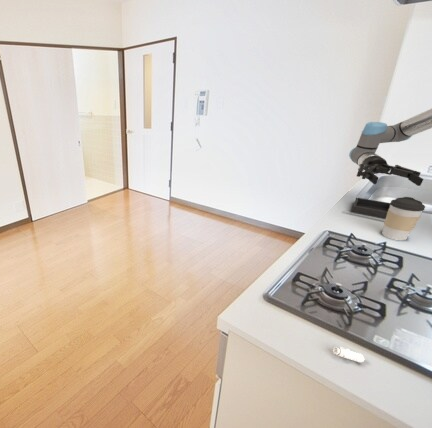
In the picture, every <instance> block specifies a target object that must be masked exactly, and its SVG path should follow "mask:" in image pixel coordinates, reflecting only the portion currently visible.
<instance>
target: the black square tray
mask: <svg viewBox="0 0 432 428" xmlns="http://www.w3.org/2000/svg"><path fill="white" fill-rule="evenodd" d="M353 202H354V203H353V205H352V208H351V210H350V213H353V214H358V215H363V216H367V217H369V216H370V217H375V218H380V219H383V220H385V219H386V216H387V213H388V209H389V208H390V203H391V202H388V201H387V202H386V201H380V200H374V199H368V198H362V197H357V196H356V197H355V199H354V201H353Z"/></svg>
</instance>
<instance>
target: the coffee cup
mask: <svg viewBox="0 0 432 428" xmlns="http://www.w3.org/2000/svg"><path fill="white" fill-rule="evenodd" d="M389 203H390V208H389V209H388V213H387V216H386V219H384V222H383V224H384V225H383V228H382V232H381V235H382V236H384V237H385V238H388V239H391V240H396V241H406V240H407V239H408V237H409V235H410V234H411V232H412V231H413V230H414V228H415V226H416V225H417V223H418V221H419V219H420V218H421V215H422V213H423V211H425V208H426V206H425V204H423V201H420V200H419V199H415V198H414V197H411V196H403V197H396V198H395V199H392V200H391V201H390V202H389Z"/></svg>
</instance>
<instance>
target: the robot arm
mask: <svg viewBox="0 0 432 428" xmlns="http://www.w3.org/2000/svg"><path fill="white" fill-rule="evenodd" d="M430 129H432V108H429V109H427V110H425V111H423V112H421V113H418V114H416V115H414V116H412V117H409V118H407V119H404V120H402V121H400V122H398V123H396V124H393V125H388V124H387V123H386V122H380V121H369V122H367V123H365V125H364V127H363V128H362V131H361V134H360V136H359V139H358V141H357V144H356V146H355V147H353V148H352V149H351V150H350V151H349V154H348V156H349V159H350V160H351V162H353V163H354V164H356V165H357V166H358V168H357V170H358V171H357V174H356V177H357V178H360V177H361V179H362V180H368V181H369V182H371V183H372V184H373V185H377V183H378V181H379V177H378V176H377V174H383V175H389V176H392V175H394V176H397V177H402V178H406V179H407V180H408V181H409V182H411V183H412V184H415V185H416V186H418V187H421V185H422V183H423V181H424V179H423V178H422V177H421V176H420V175H421V171H417V170H414V169H411V168H407V167H404V166H401V165H399V164H395V165H389V164H388V162H387V160H386V159H385V158H383V157H382V156H380V155H379V154H377V153H376V152H377V150H378V148H379V145H380V144H385V143H400V142H405V141H408V140H410V138H412V137H413V136H415V135H417V134H420V133H422V132H426V131H428V130H430Z"/></svg>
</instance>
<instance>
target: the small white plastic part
mask: <svg viewBox="0 0 432 428" xmlns="http://www.w3.org/2000/svg"><path fill="white" fill-rule="evenodd" d="M332 351H333V354H334V355H336V356H337V357H341V358H344V359H348V360H351V361H354V362H357V363H363V362H365V360H366V358H365V356H364V355H363V354H362V353H360V352H356V351H354V350H351V349H350V348H346V347H343V346H334V347H333V349H332Z"/></svg>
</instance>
